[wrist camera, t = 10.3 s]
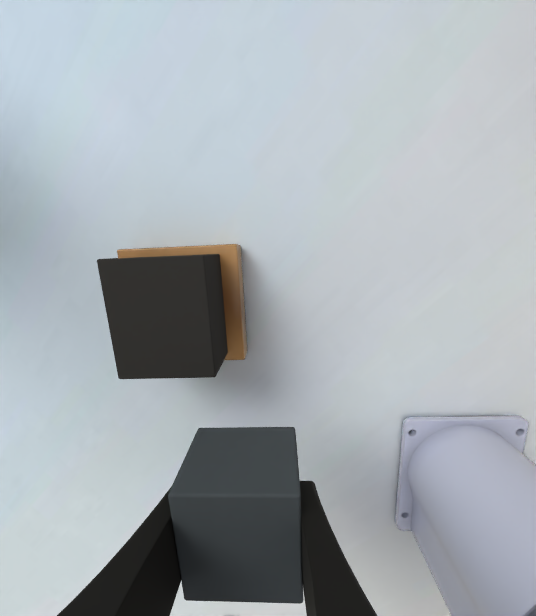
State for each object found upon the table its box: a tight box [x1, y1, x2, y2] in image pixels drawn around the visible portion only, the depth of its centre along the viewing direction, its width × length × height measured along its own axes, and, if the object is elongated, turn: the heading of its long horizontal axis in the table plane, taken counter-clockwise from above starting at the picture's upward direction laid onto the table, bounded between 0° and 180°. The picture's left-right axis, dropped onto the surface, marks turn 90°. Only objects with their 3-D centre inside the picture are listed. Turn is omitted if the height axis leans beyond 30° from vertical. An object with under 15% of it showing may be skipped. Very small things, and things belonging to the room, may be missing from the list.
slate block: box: [168, 427, 303, 603], centre depth 10 cm, size 5×4×3 cm
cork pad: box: [117, 244, 247, 360], centre depth 16 cm, size 7×7×2 cm
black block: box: [97, 254, 228, 379], centre depth 14 cm, size 6×5×3 cm
